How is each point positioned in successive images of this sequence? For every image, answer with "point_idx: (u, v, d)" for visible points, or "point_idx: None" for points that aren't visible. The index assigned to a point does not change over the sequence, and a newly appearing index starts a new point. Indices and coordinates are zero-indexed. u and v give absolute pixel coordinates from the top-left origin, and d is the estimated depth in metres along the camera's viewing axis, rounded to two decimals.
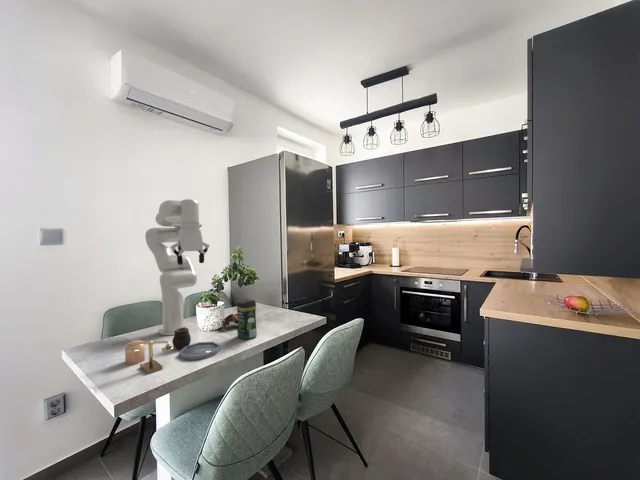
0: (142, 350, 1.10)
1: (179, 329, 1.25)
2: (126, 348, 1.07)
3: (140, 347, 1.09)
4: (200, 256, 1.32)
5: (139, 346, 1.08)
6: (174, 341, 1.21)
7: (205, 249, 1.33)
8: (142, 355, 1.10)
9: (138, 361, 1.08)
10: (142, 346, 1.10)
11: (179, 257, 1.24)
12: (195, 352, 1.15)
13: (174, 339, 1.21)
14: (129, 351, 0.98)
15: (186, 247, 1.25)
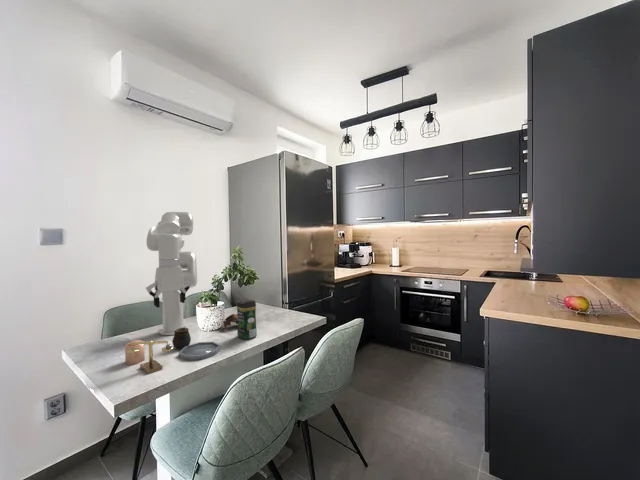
0: (142, 350, 1.10)
1: (179, 329, 1.25)
2: (126, 348, 1.07)
3: (140, 347, 1.09)
4: (181, 295, 1.19)
5: (139, 346, 1.08)
6: (174, 341, 1.21)
7: (187, 287, 1.20)
8: (142, 355, 1.10)
9: (138, 361, 1.08)
10: (142, 346, 1.10)
11: (156, 299, 1.11)
12: (195, 352, 1.15)
13: (174, 339, 1.21)
14: (129, 351, 0.98)
15: (164, 288, 1.12)
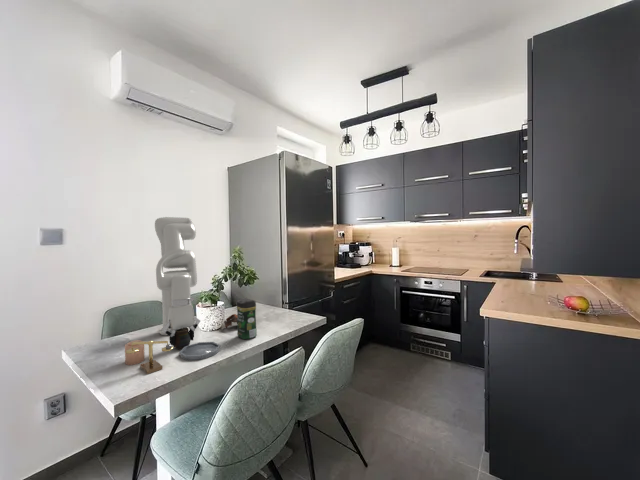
0: (142, 350, 1.10)
1: (179, 329, 1.25)
2: (126, 348, 1.07)
3: (140, 347, 1.09)
4: (190, 333, 1.26)
5: (139, 346, 1.08)
6: None
7: (195, 325, 1.27)
8: (142, 355, 1.10)
9: (138, 361, 1.08)
10: (142, 346, 1.10)
11: (171, 338, 1.19)
12: (195, 352, 1.15)
13: None
14: (129, 351, 0.98)
15: (176, 326, 1.20)
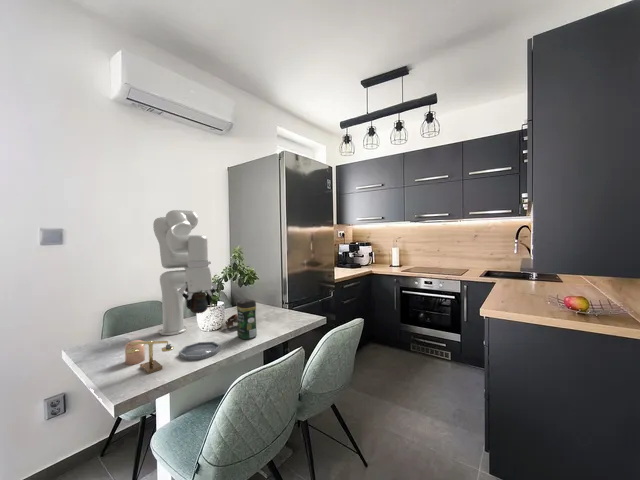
0: (142, 350, 1.10)
1: (196, 293, 1.19)
2: (126, 348, 1.07)
3: (141, 347, 1.09)
4: (207, 298, 1.20)
5: (140, 346, 1.09)
6: None
7: (212, 290, 1.21)
8: (143, 355, 1.10)
9: (138, 361, 1.08)
10: (142, 346, 1.10)
11: (188, 301, 1.13)
12: (195, 352, 1.15)
13: None
14: (129, 351, 0.98)
15: (194, 288, 1.14)
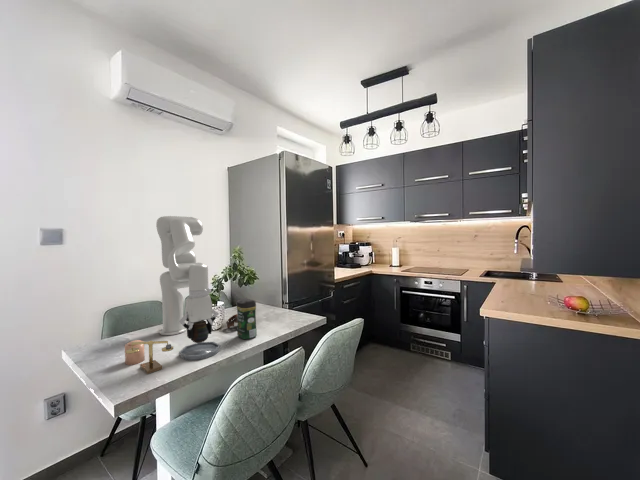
0: (142, 350, 1.10)
1: (196, 322, 1.19)
2: (126, 348, 1.07)
3: (140, 347, 1.09)
4: (207, 326, 1.20)
5: (139, 346, 1.09)
6: None
7: (213, 318, 1.21)
8: (143, 355, 1.10)
9: (139, 361, 1.08)
10: (142, 346, 1.10)
11: (189, 331, 1.13)
12: (195, 352, 1.15)
13: None
14: (129, 351, 0.98)
15: (194, 318, 1.14)
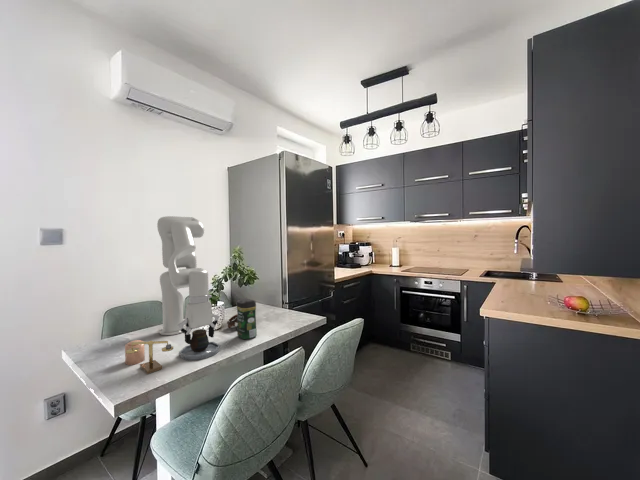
0: (142, 350, 1.10)
1: (196, 331, 1.19)
2: (126, 348, 1.07)
3: (141, 347, 1.09)
4: (210, 329, 1.21)
5: (140, 346, 1.09)
6: (192, 343, 1.15)
7: (215, 321, 1.22)
8: (143, 355, 1.10)
9: (139, 361, 1.08)
10: (142, 346, 1.10)
11: (187, 336, 1.13)
12: (195, 352, 1.15)
13: (192, 341, 1.15)
14: (129, 351, 0.98)
15: (195, 324, 1.14)
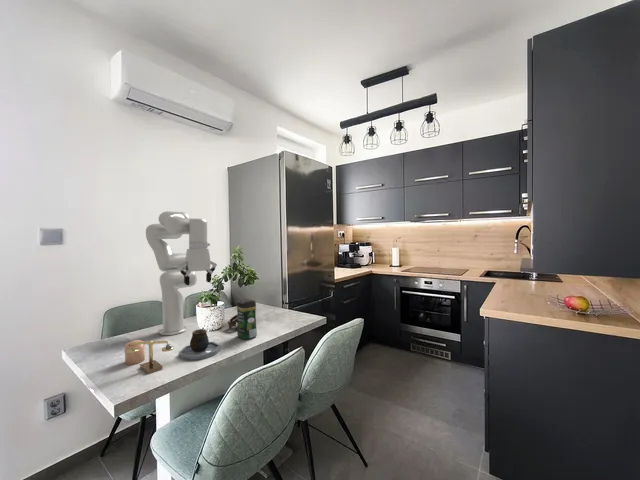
0: (142, 349, 1.10)
1: (196, 331, 1.19)
2: (126, 348, 1.07)
3: (141, 347, 1.09)
4: (207, 275, 1.30)
5: (140, 346, 1.09)
6: (192, 343, 1.15)
7: (212, 268, 1.31)
8: (143, 355, 1.10)
9: (139, 361, 1.08)
10: (142, 346, 1.10)
11: (186, 277, 1.22)
12: (195, 352, 1.15)
13: (192, 341, 1.15)
14: (129, 351, 0.98)
15: (193, 267, 1.23)
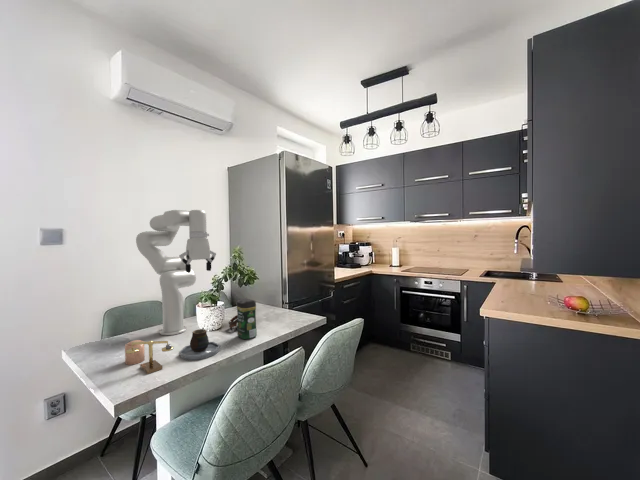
0: (143, 349, 1.10)
1: (196, 331, 1.19)
2: (127, 348, 1.07)
3: (141, 346, 1.09)
4: (207, 264, 1.37)
5: (140, 345, 1.09)
6: (192, 343, 1.15)
7: (212, 257, 1.38)
8: (143, 354, 1.10)
9: (139, 360, 1.08)
10: (143, 345, 1.10)
11: (187, 265, 1.29)
12: (195, 352, 1.15)
13: (192, 341, 1.15)
14: (129, 351, 0.98)
15: (194, 256, 1.30)
